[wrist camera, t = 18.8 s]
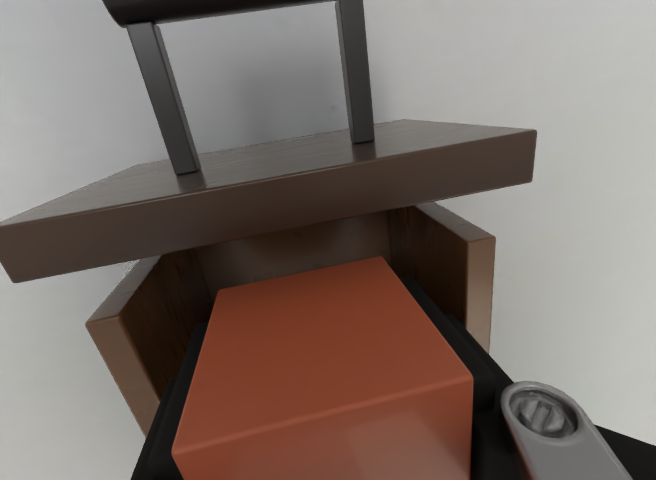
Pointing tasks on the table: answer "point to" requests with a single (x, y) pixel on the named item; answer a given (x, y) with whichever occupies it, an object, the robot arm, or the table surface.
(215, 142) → the table surface
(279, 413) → the block
